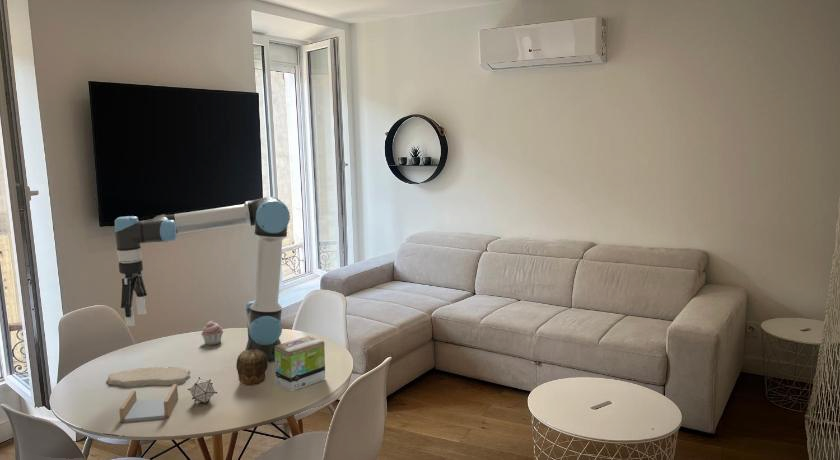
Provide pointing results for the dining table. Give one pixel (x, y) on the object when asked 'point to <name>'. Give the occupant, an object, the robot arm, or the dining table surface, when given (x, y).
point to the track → (148, 407)
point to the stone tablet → (149, 376)
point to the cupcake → (212, 333)
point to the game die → (202, 391)
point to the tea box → (299, 363)
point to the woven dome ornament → (252, 367)
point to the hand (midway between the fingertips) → (136, 319)
